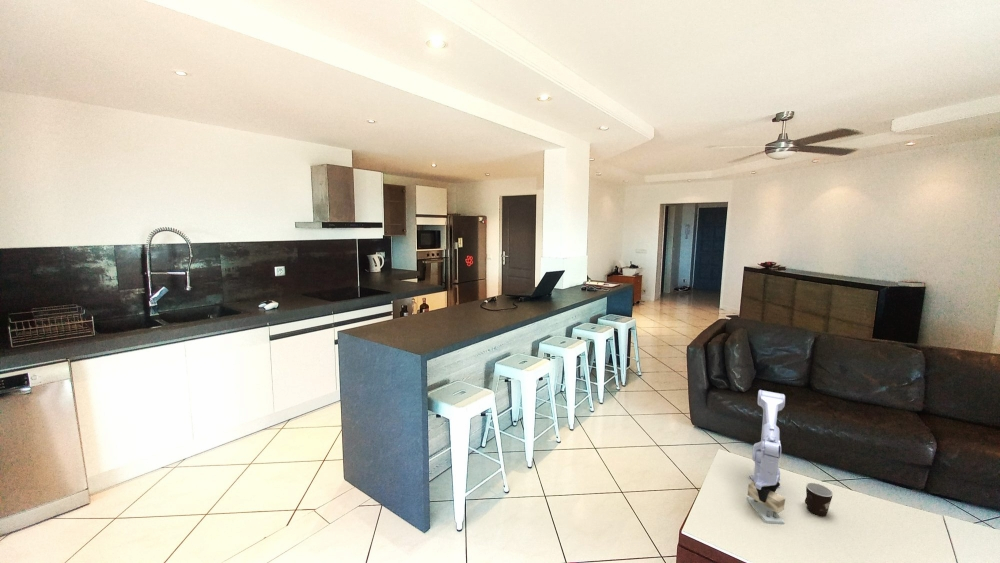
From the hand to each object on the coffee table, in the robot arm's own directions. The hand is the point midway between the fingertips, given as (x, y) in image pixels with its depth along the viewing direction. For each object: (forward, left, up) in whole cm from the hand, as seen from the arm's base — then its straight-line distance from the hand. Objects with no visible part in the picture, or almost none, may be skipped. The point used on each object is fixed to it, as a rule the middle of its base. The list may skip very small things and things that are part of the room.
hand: (765, 499), depth 162 cm
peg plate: (0, 0, -5) cm, 5 cm away
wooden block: (0, 0, -1) cm, 1 cm away
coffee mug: (-20, -1, -6) cm, 21 cm away
